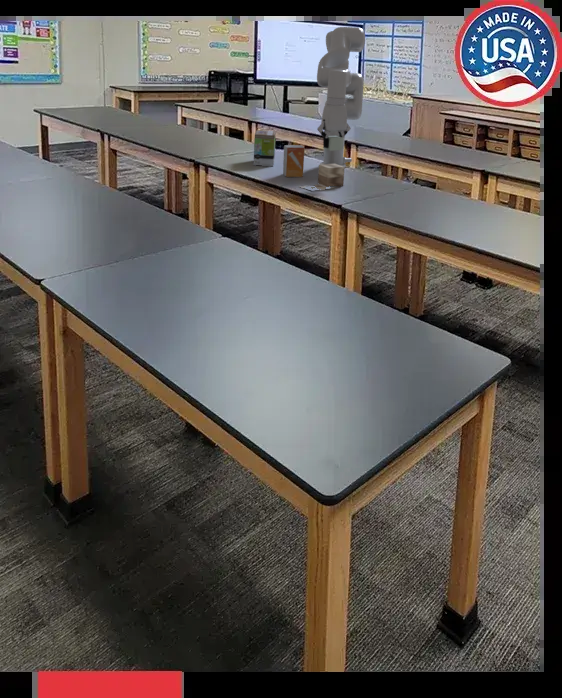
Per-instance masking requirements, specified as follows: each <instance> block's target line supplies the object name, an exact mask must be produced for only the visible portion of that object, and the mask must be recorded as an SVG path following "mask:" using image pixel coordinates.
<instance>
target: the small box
mask: <svg viewBox="0 0 562 698" xmlns="http://www.w3.org/2000/svg"><path fill="white" fill-rule="evenodd" d="M282 164H283V167H282V174H283V176H285V177H286V178H291V177H292V178H294V177H295V178H303V177H304V164H305V147H304V146H303V145H301V144H298V145H297V144H294V145H293V144H291V145H290V144H288V145H287V144H286V145H284V146H283V163H282Z"/></svg>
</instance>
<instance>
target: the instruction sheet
mask: <svg viewBox="0 0 562 698" xmlns="http://www.w3.org/2000/svg"><path fill="white" fill-rule="evenodd" d="M314 185H315V187H316V188H317V189H319V190H320V189H321V190H320V191H326V190H325V189H326V187H327V186H324V185H322V184H314ZM306 186H307V185H303V186H300V187H301V188H300V189H303V188H305V187H306ZM315 187H311V188H312V189H313V188H315Z"/></svg>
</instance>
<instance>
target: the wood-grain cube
mask: <svg viewBox="0 0 562 698" xmlns="http://www.w3.org/2000/svg"><path fill="white" fill-rule="evenodd" d="M345 169H346V167H343V166H340V165H337V164H321V165H320V164H318V176H317V179H318V180H317V184H318V183H319V184H322V185H324V186H327V187H329V186H337V187H344V182H345V180H344V179H345ZM319 184H318V185H319Z"/></svg>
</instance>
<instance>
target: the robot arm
mask: <svg viewBox="0 0 562 698" xmlns="http://www.w3.org/2000/svg"><path fill="white" fill-rule="evenodd" d="M365 44H366V34H365V30H364V29H363V28H361V27H358V26H357V27H356V26H355V27H352V26H351V27H350V26H339V27H336V28H334V29H333V30H332V31H329V32H327V33H326V35H325V46H326V49H327V53H325V54H324V55H323V56H322V57H321V58H320V60H319V62H318V65H317V73H316V81H317V84H318V86H319V87H322V88H327V91H326V100H325V102H324V107H323V110H322V115H321V122H320V123H321V124H320V125H319V126H318V127H317V131H318V132H319V134H320V135H321V136H322V139H323V141H322V145H324V147H325V148H328V147H329V138H328V136H339V137H343V150H333V151H330V150H327V149H324V148H323V161H322V162H320V163H319V165H321V164H337V165H340V166H343V167H345V168H346V167H347V166H346V165H347V164H346V163H351V162H352V161H353V160H352V158H351V157H345V156H344V150H345V138H346V137H345V136H346V135H347V134H348V132H349V131H350V130H351V126H350V125H349V124H348V122H347V121H349V120H350V121H351V120H352V121H353V120H354V121H357V120H359V119H360V118H361V116H362V111H363V99H364V86H365V85H364V77H363V75H362V74H361V73H355V72H351V71H350V69H349V65H350V61H349V59H350V53H361V52H362V51H363V50H364V47H365ZM346 96H352V97H353V98H350V97H349V98H348V97H346Z"/></svg>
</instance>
